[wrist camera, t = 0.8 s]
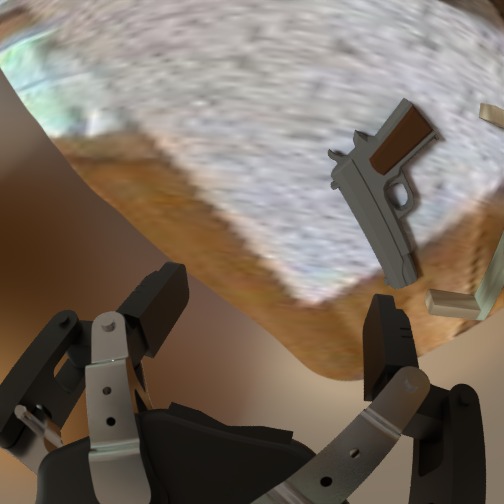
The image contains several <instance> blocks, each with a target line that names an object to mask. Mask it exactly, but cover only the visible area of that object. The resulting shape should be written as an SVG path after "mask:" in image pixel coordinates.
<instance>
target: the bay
mask: <svg viewBox="0 0 504 504" xmlns="http://www.w3.org/2000/svg"><path fill="white" fill-rule="evenodd" d="M479 118H482V119H484V120H487V121H489V122H491V123H493V124H495V125H498V126H500V127H502V128H504V110H503V109H501V108H499V107H497V106H494V105H489V104H484V103H481V105H480V114H479ZM503 286H504V231H503V233H502V236H501V239H500V241H499V244H498V246H497V249H496V251H495V253H494V256H493V258H492V260H491V262H490V265H489V267H488V269H487V271H486V273H485V275H484V277H483V279H482V281H481V283H480V285H479V287H478V289H477V291H476V293H475V295H474V296H473V295H466V294H459V293H453V292H446V291H439V290H432V289H429V290H428V292H427V294H426V297H425V302H426V305H427V308H428V312H429V315H436V316H445V317H454V318H463V319H473V320H484V319H485V318H486V316H487V314H488V313H489V311H490V309H491V308H492V306H493V304H494V303H495V301H496V299H497V297H498V295H499V294H500V292H501V290H502V288H503Z"/></svg>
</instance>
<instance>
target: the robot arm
mask: <svg viewBox="0 0 504 504" xmlns="http://www.w3.org/2000/svg"><path fill="white" fill-rule="evenodd" d="M188 300H189V288H188V280H187V273H186V267H185V265H184V264H179V263H173V262H166V263H165V264H164V265H163V267H162V268H161V269H160V270H159V271H155V272H153V273H151V274H149V275H148V276H146V277H145V278H144V279H143V281H142V282H141V283H140V285H138V286H137V287H136V289H135V290H134V291H133V292H132V293H131V294H130V296H129V297H128V298H127V299H126V300H125V301H124V303H123V304H122V305H121V306H120V307H119V308H118V310H117V311H116V312H106V313H103V314H101V315H100V316H98V317H97V318H96V319H95V320H94V321H82V320H79V318H78V316H77V314H76V313H75V312H74V311H72V310H64V311H61V312H59V313H57V314H56V315H55V316H54V317H53V318H52V319H51V320H50V321H49V322H48V324H47V325H46V326H45V327H44V328H43V330H42V331H41V332H40V333H39V334H38V336H37V337H36V338H35V339H34V341H33V342H32V343H31V344H30V346H29V347H28V348H27V349H26V351H25V352H24V353H23V355H22V356H21V357H20V359H19V360H18V361H17V363H16V364H15V365H14V367H13V368H12V369H11V371H10V372H9V374H8V375H7V376H6V378H5V379H4V380H3V382H2V383H1V385H0V447H1V448H2V449H3V450H5V451H6V452H8V453H9V454H10V455H12V456H13V457H15V458H16V459H18V460H20V461H21V462H22V463H23V464H24V465H25V466H27V467H28V468H29V469H30V470H31V471H33V472H34V473H35V474H37V497H36V503H35V504H349V502H348V501H347V498H348V497H349V496H350V495H351V494H352V493H353V492H354V491H355V489H357V488H358V486H359V485H360V484H361V483H362V482H363V481H364V480H365V479H366V478H367V477H368V476H369V475H370V474H371V473H372V472H373V470H374V469H375V468H376V467H377V466H378V465H379V464H380V462H381V461H382V460H383V459H384V458H385V456H386V455H387V454H388V453H389V452H390V450H391V449H392V448H393V447H394V445H395V444H396V443H397V441H398V440H399V438H400V437H401V435H400V434H403V435H406V436H409V437H412V438H414V441H413V464H412V476H411V487H410V496H409V503H408V504H485V499H486V459H485V443H484V433H483V425H482V416H481V410H480V404H479V398H478V395H477V393H476V392H475V390H474V389H473V388H472V387H470V386H469V385H466V384H457V385H455V386H454V387H453V388H452V389H451V390H450V391H449V390H446V389H443V388H440V387H437V386H434V385H432V384H430V381H429V378H428V376H427V375H426V374H425V373H424V372H423V371H422V370H420V369H419V365H418V359H417V354H416V349H415V344H414V339H413V334H412V331H411V325H410V321H409V318H408V317H407V315H406V314H405V312H404V311H403V310H402V309H396V307H395V302H394V298H393V296H391V295H383V294H375V295H374V296H373V299H372V302H371V305H370V308H369V311H368V313H367V316H366V319H365V322H364V326H363V360H364V401H372V403H371V404H370V405H369V406H368V407H367V408H366V409H364V410H363V411H362V412H361V413H360V414H359V415H358V416H357V417H356V418H355V419H354V420H353V421H352V422H351V423H350V424H349V425H348V426H347V427H346V428H345V429H344V430H343V431H342V432H341V433H340V434H339V435H338V436H337V437H336V438H335V439H334V440H333V441H332V442H331V443H330V444H328V445H327V446H326V447H325V448H324V449H323V450H322V451H321V452H319V453H318V454H317V455H316V453H314V452H313V451H312V450H311V449H310V448H308V447H307V446H306V445H304V444H302V443H300V442H299V441H296V440H294V439H292V436H293V431H287V430H281V429H275V428H270V427H264V426H227V425H225V424H223V423H221V422H219V421H217V420H215V419H213V418H212V417H210V416H208V415H206V414H204V413H203V412H201V411H199V410H195V409H192V408H189V407H186V406H183V405H180V404H177V403H173V402H171V405H170V406H169V408H168V409H153V407H152V404H151V401H150V399H149V395H148V390H147V385H146V380H145V375H144V370H143V365H142V362H141V359H142V358H143V356H144V355H145V356H149V357H151V358H154V357H155V355H156V354H157V352H158V350H159V349H160V347H161V345H162V344H163V342H164V341H165V339H166V337H167V336H168V334H169V333H170V331H171V329H172V328H173V326H174V325H175V323H176V321H177V320H178V318H179V317H180V315H181V313H182V312H183V310H184V309H185V307H186V305H187V303H188ZM65 353H66V355H67V357H68V359H67V361H66V362H65V363H64V365H63V366H62V368H61V369H60V371H59V372H58V374H57V375H56V377H54V368H55V367H56V365H57V364H58V362H59V361H60V360H61V358H62V357H63V355H64V354H65ZM85 388H86V401H87V413H88V425H89V434H90V436H87V437H85V438H83V439H80V440H78V441H75V442H73V443H70V444H67V445H65V446H63V441H62V440H61V429H62V427H63V425H64V423H65V422H66V419H67V418H68V416H69V414H70V413H71V411H72V409H73V408H74V406H75V404H76V403H77V401H78V399H79V398H80V396H81V394H82V393H83V391H84V389H85Z"/></svg>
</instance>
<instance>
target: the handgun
mask: <svg viewBox="0 0 504 504" xmlns="http://www.w3.org/2000/svg"><path fill="white" fill-rule="evenodd" d="M433 138H435V139H436V140H438V139H439V138H438V136H437V134H436V133H435V132H434V130H433V129H432V128H431V126H430V125H429V124H428V123H427V121H426V120H425V119H424V118H423V117H422V115H421V114H420V113H419V112H418V111H417V109H416V108H415V107H414V106H413V105H412V104H411V103H410V102H409V101H408V100H407V99H405V98H403V100H402V101H401V102H400V104H399V105H398V106H397V108H396V109H395V110H394V112H393V113H392V114H391V116H390V117H389V118H388V120H387V121H386V122H385V123H384V125H383V126H382V127H381V129H380V130H379V131H378V133H377V134H376V135H375V136H365V135H364V134H362V133H360V132H358V131H357V130H355V132H354V137H353V142H354V145H355V148H354V149H353V150H352V151H351V152H350V153H349V154H348V155H345V156H341V155H338V154H335V153H334V152H332V151H331V150H330V149H329V150H328V156H329V157H330V158H331V159H333V160H335V161H336V162H337V163H338V164H337V165H336V166H335V168H334V169H333V171H332V173H331V177H332V178H333V180H334V181H333V182H332V183H331V188H332V189H333V190H335V189H337V188H339V190H340V191H341V193H342V195H343V196H344V198H345V200H346V202H347V203H348V205H349V207H350V208H351V210H352V212H353V214H354V215H355V217H356V219H357V221H358V223H359V224H360V226H361V228H362V230H363V232H364V234H365V236H366V237H367V239H368V241H369V243H370V245H371V247H372V249H373V251H374V253H375V255H376V257H377V259H378V261H379V263H380V265H381V267H382V269H383V271H384V273H385V275H386V277H385V278H384V281H385V285H386V286H387V285H390V286H391V287H393V288H394V289H399V288H403V287H405V286H408V285H410V284H412V283H413V282H415V281H416V280H417V277H418V273H417V271H416V268H415V265H414V263H413V260H412V258H411V255H410V253H409V252H410V250H411V245H410V243H409V241H408V238H407V236H406V233H405V231H404V229H403V227H402V224H401V222H400V217H401V216H402V215H403V214H405V213H407V212H409V211H410V209H411V208H412V207H413V205H414V200H413V193H412V191H411V188H410V186H409V184H408V182H407V180H406V177H405V175H404V173H403V171H402V169H401V167H402V166H404V165H405V164H406V163H407V162H408V161H409V160H410V159H411V158H412V157H414V156H415V155H416V154H417V153H418V152H419V151H420V150H421V149H422V148H424V147H425V146H426V145H427V144H428V143H429V142H430V141H431V140H432V139H433ZM394 183H403V185H404V187H405V189H406V192H407V195H408V200H407V202H406V204H405V205H403V206H401V207H397V206H394V205H393V204H392V203H391V202H390V200H389V198H388V196H387V194H386V191H387V189H388V188H389V187H390V186H391V185H392V184H394Z"/></svg>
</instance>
